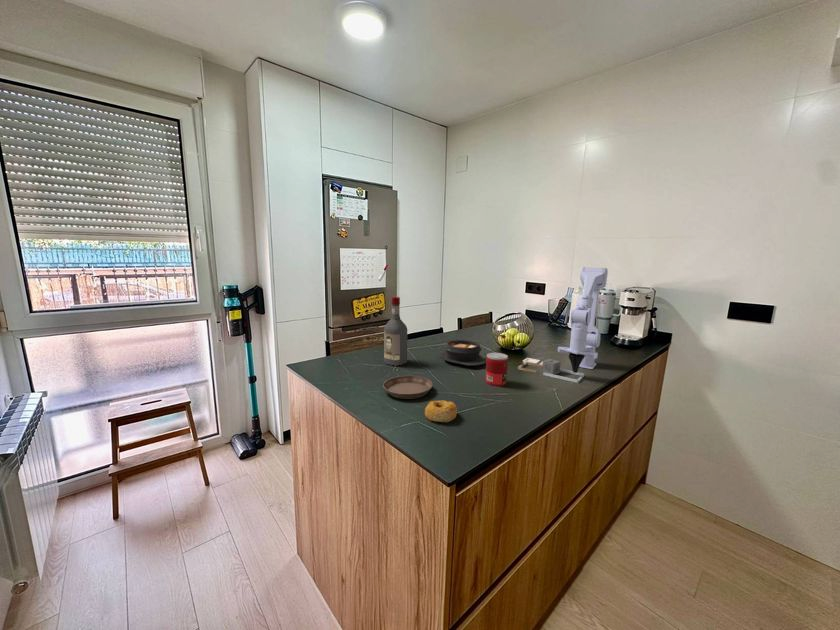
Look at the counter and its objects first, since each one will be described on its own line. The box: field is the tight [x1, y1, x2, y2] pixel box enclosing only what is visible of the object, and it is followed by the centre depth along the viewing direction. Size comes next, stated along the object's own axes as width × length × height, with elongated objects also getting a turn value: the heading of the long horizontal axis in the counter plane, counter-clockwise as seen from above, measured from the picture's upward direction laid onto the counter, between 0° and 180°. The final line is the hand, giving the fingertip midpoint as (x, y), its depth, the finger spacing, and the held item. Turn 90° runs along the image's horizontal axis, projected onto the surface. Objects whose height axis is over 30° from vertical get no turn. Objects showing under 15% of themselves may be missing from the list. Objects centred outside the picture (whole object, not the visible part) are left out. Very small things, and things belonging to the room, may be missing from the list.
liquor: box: [383, 296, 408, 367], centre depth 148 cm, size 9×9×30 cm
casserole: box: [439, 339, 486, 367], centre depth 154 cm, size 25×19×8 cm
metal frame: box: [542, 368, 585, 383], centre depth 137 cm, size 10×14×1 cm
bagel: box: [424, 399, 458, 423], centre depth 101 cm, size 10×11×5 cm
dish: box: [522, 357, 541, 364], centre depth 154 cm, size 6×6×1 cm
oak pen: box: [517, 362, 543, 374], centre depth 145 cm, size 10×8×1 cm
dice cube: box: [541, 358, 561, 375], centre depth 140 cm, size 5×5×5 cm
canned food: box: [485, 352, 509, 387], centre depth 127 cm, size 8×8×11 cm
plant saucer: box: [382, 375, 433, 400], centre depth 119 cm, size 18×18×3 cm
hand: (575, 371), depth 134 cm, fingers closed
